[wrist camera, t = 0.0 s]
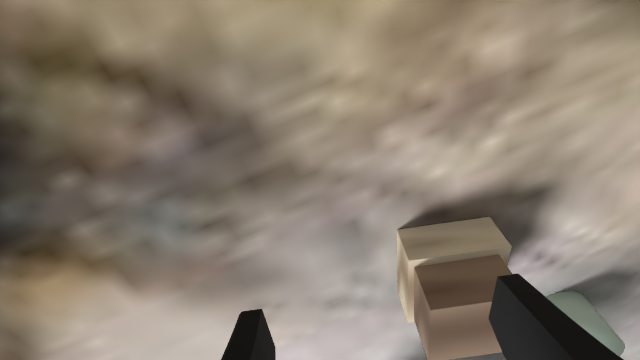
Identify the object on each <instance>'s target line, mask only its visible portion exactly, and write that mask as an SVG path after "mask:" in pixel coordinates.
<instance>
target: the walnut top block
mask: <svg viewBox="0 0 640 360" xmlns="http://www.w3.org/2000/svg"><path fill="white" fill-rule="evenodd" d="M511 274H512V273H511V271H510V270H509V269H508V267H507V266H506V264H505V263H504V261H503V260H502V258H501V257H500V255H499V254H498V255H492V256H485V257H478V258H471V259H465V260H458V261H452V262H445V263H438V264H432V265H425V266H418V267H414V320H415V323H416V326H417V329H418V332H419V336H420V339H421V342H422V345H423V348H424V351H425V354H426V357H427V360H451V359H458V358H465V357H472V356H479V355H486V354H494V353H501V352H502V350H501V348H500V345H499V343H498V341H497V338H496V336H495V333H494V331H493V328H492V326H491V324H490V321H489V319H488V318H489V313H490V309H491V304H492V299H493V295H494V290H495V286H496V281H497V276H504V275H511Z"/></svg>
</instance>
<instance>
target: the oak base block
mask: <svg viewBox="0 0 640 360" xmlns="http://www.w3.org/2000/svg"><path fill="white" fill-rule="evenodd" d="M511 248H512V246H511V245H510V243H509V242H508V241H507V239H506V238H505V237H504V235H503V234H502V233H501V231H500V230H499V229H498V227H497V226H496V225H495V223H494V222H493V221H492V219H491V218H490V217H484V218H477V219H470V220H463V221H456V222H448V223H441V224H434V225H427V226H420V227H413V228H406V229H399V230H397V276H398V293H399V297H400V300H401V303H402V306H403V310H404V313H405V316H406V319H407V323H414V322H415V320H414V267H418V266H425V265H432V264H438V263H445V262H452V261H458V260H465V259H471V258H478V257H485V256H492V255H498V254H499V255H500V257H501V258H502V260H503V261H504V263H505V264H506V266H507V265H508V261H509V256H510V252H511Z"/></svg>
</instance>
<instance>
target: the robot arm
mask: <svg viewBox="0 0 640 360" xmlns="http://www.w3.org/2000/svg"><path fill="white" fill-rule="evenodd" d="M488 319H489V321H490V324H491V326H492V328H493V331H494V333H495V336H496V338H497V341H498V343H499V345H500V348H501V350H502V352H503V354H504V356H505V358H506V360H623V359H622V358H621V357H619V356H618V355H616V354H615V353H614V352H613V351H611V350H610V349H609V348H607V347H606V346H605V345H604V344H602V343H601V342H600V341H598V340H597V339H596V338H595V337H593V336H592V335H591V334H590V333H588V332H587V331H586V330H585V329H583V328H582V327H581V326H580V325H578V324H577V323H576V322H575V321H574V320H572V319H571V318H570V317H569V316H567V315H566V314H565V313H564V312H563V311H561V310H560V309H559V308H558V307H557V306H556V305H554V304H553V303H552V302H551V301H550V300H548V299H547V298H546V297H545V296H544V295H543V294H541V293H540V292H539V291H538V290H537V289H536V288H534V287H533V286H532V285H531V284H530V283H529V282H527V281H526V280H525V279H524V278H523V277H521V276H520V275H519V274H511V275H504V276H497V281H496V286H495V290H494V295H493V299H492V304H491V309H490V313H489V318H488ZM221 360H275V345H274V342H273V340H272V337H271V334H270V331H269V328H268V325H267V322H266V319H265V317H264V314H263V311H262V309H257V310H250V311H243V312H241V313H240V315H239V317H238V320H237V323H236V325H235V328H234V330H233V333H232V335H231V338H230V340H229V343H228V345H227V347H226V350H225V352H224V354H223V357H222V359H221Z"/></svg>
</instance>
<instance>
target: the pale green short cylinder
mask: <svg viewBox="0 0 640 360" xmlns="http://www.w3.org/2000/svg"><path fill="white" fill-rule="evenodd" d="M546 298H547V299H548V300H550V301H551V302H552V303H553V304H554V305H556V306H557V307H558V308H559V309H560V310H561V311H563V312H564V313H565V314H566V315H567V316H569V317H570V318H571V319H572V320H574V321H575V322H576V323H577V324H578V325H580V326H581V327H582V328H583V329H585V330H586V331H587V332H588V333H590V334H591V335H592V336H593V337H595V338H596V339H597V340H598V341H600V342H601V343H602V344H604V345H605V346H606V347H607V348H609V349H610V350H611V351H613V352H614V353H615V354H616V355H618V356H620V355H621V354H622V353H623V351H624V349H625V344H624V342H623V341H622V340H621V339H620V338H619V336H618V335H617V334H616V333H615V332H614V331H613V329H612V328H611V327H610V326H609V325H608V324H607V322H606V321H605V320H604V319H603V318H602V317H601V315H600V314H599V313H598V312H597V311H596V310H595V308H594V307H593V306H592V305H591V304H590V302H589V301H588V300H587V299H586V298H585V297H584V295H582V294H581V293H579V292H576V291H562V292H558V293H554V294H552V295H549V296H547V297H546Z"/></svg>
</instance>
